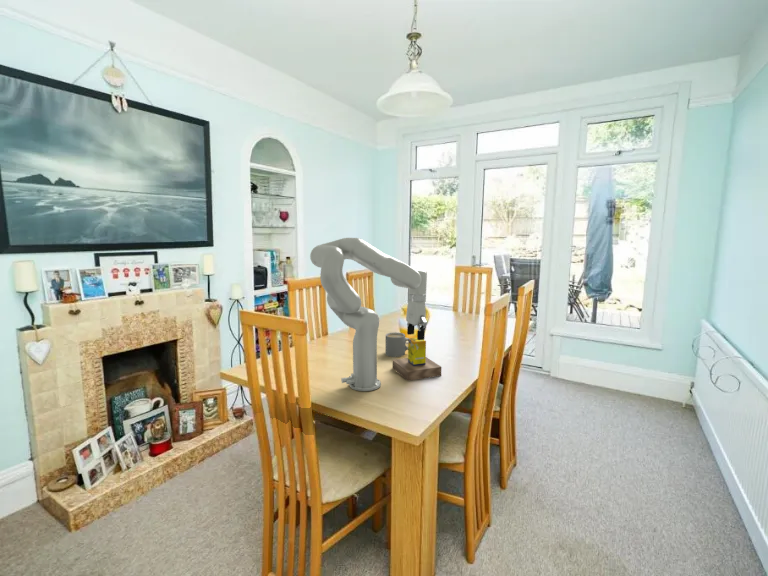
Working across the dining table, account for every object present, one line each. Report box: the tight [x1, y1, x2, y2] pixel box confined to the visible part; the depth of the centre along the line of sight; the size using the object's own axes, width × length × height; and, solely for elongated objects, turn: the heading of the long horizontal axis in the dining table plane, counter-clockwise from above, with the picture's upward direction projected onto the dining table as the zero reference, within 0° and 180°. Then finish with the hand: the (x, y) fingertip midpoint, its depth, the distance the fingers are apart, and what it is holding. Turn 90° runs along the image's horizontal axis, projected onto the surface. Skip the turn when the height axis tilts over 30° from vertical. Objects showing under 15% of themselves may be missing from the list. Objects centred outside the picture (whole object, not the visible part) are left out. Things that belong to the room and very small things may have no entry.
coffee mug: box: [385, 331, 410, 358], centre depth 193 cm, size 13×10×10 cm
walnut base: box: [392, 357, 442, 382], centre depth 168 cm, size 16×16×4 cm
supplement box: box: [407, 337, 427, 366], centre depth 167 cm, size 6×6×11 cm
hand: (415, 336), depth 166 cm, fingers open, 9 cm apart
